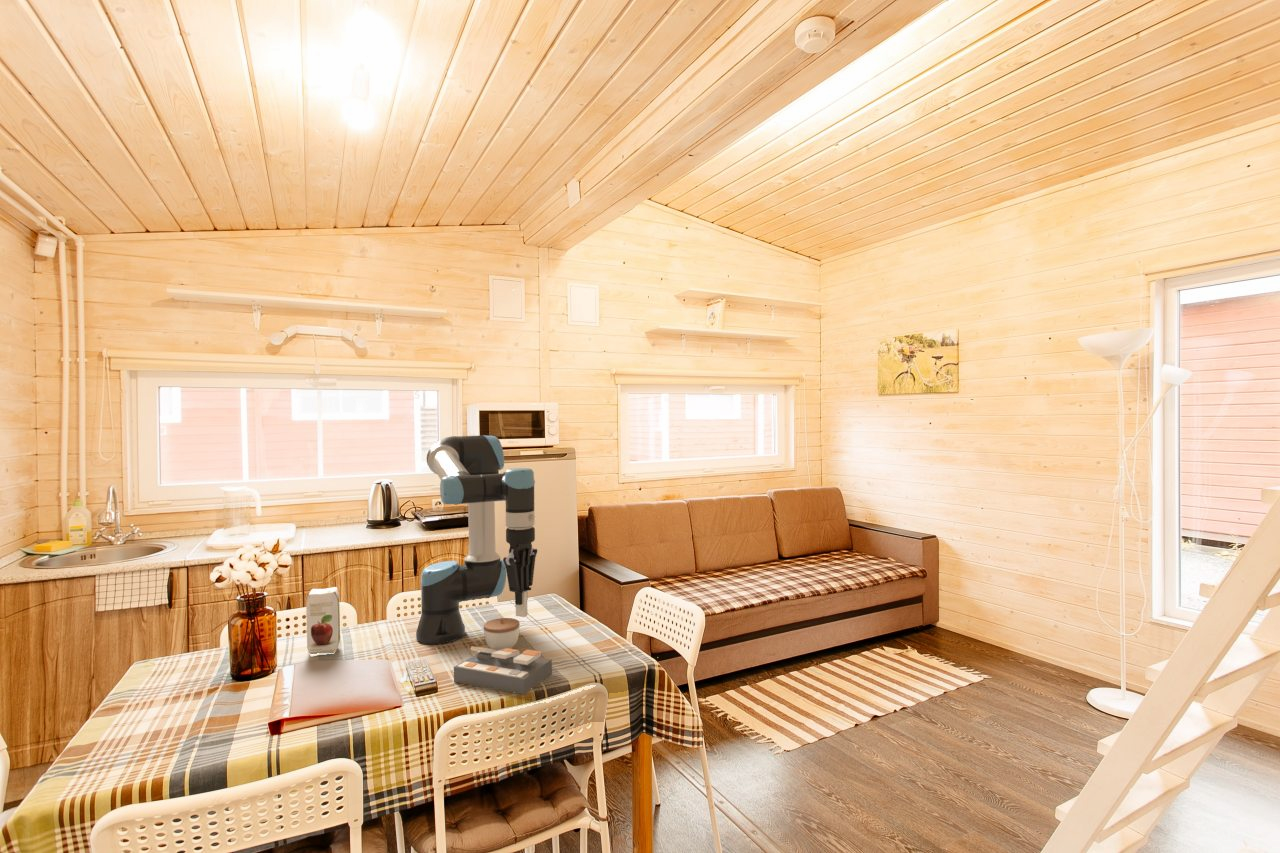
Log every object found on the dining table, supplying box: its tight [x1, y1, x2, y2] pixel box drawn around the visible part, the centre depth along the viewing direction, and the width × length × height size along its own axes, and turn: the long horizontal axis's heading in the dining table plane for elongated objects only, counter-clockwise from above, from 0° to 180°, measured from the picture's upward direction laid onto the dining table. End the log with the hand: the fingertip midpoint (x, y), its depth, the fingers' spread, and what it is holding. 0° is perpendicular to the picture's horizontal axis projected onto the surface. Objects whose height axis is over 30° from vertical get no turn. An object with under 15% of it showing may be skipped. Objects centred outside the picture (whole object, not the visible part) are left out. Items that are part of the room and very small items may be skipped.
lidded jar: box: [483, 617, 520, 651], centre depth 193 cm, size 11×11×9 cm
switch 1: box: [470, 645, 498, 653], centre depth 175 cm, size 4×7×1 cm, turn 158°
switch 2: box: [491, 648, 520, 659], centre depth 172 cm, size 4×7×1 cm, turn 158°
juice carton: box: [305, 586, 341, 654], centre depth 191 cm, size 8×9×19 cm
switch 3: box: [513, 649, 542, 665], centre depth 169 cm, size 4×7×1 cm, turn 158°
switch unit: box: [453, 651, 553, 695], centre depth 171 cm, size 22×14×5 cm, turn 68°
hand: (521, 615), depth 167 cm, fingers closed
